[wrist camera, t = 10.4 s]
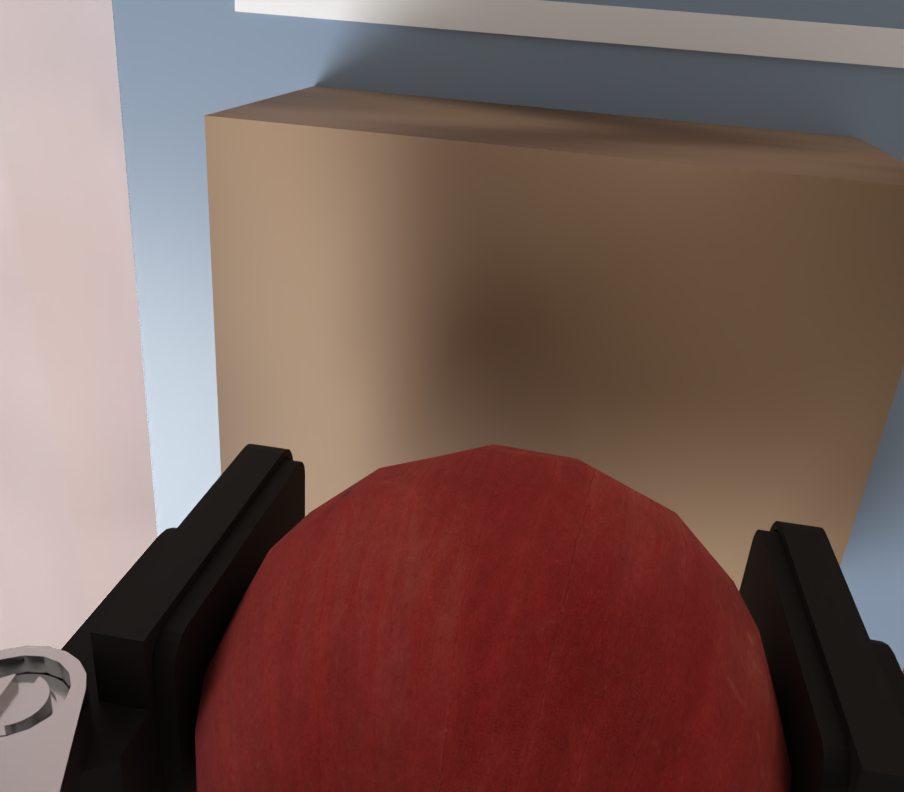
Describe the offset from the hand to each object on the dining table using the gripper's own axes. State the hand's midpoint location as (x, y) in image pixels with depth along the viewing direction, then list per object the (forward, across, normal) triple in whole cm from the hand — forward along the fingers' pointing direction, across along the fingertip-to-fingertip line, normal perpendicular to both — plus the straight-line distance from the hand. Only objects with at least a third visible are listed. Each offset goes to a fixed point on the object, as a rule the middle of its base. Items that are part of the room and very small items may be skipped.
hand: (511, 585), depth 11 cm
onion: (+1, 0, 0) cm, 1 cm away
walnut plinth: (+8, 0, 0) cm, 8 cm away
